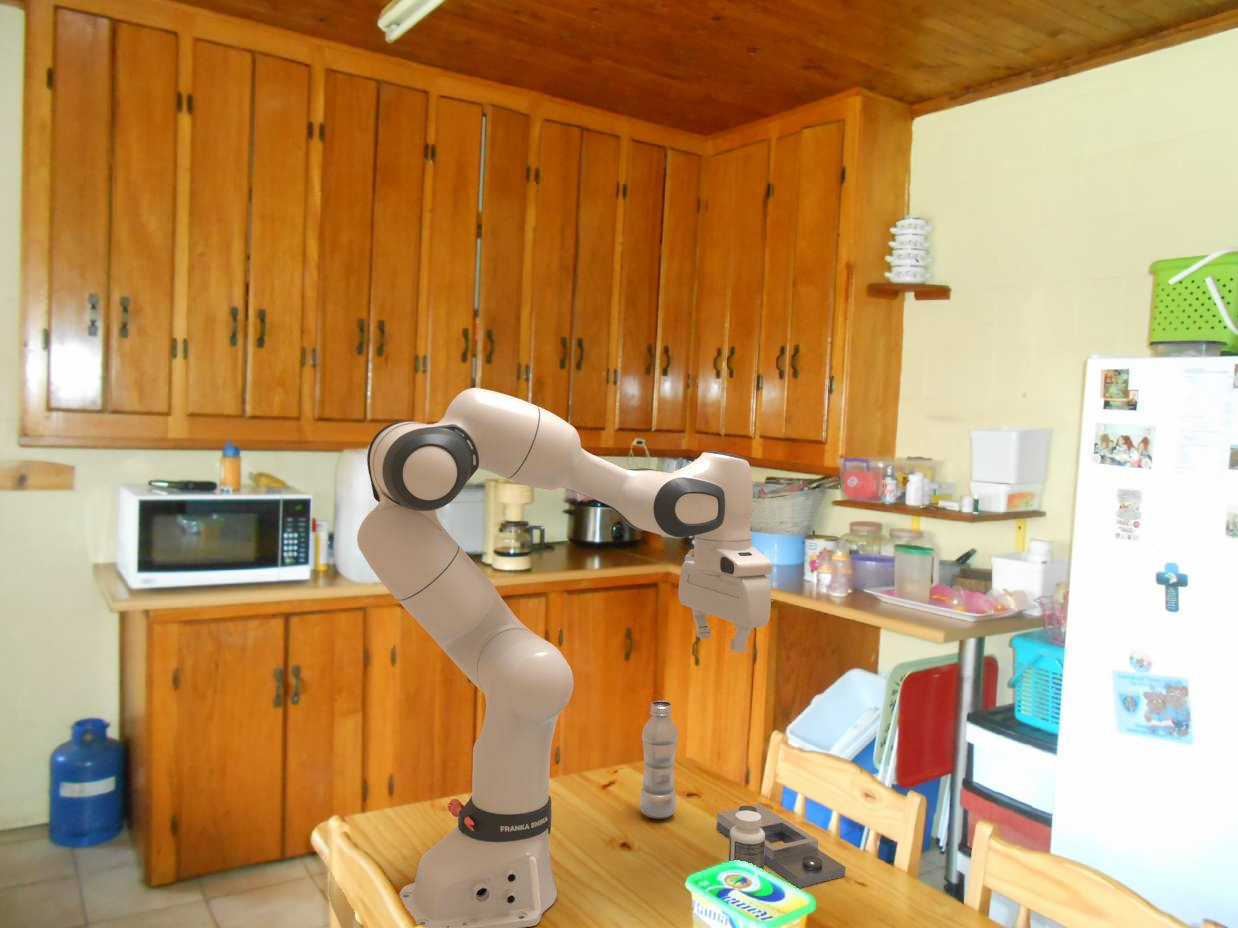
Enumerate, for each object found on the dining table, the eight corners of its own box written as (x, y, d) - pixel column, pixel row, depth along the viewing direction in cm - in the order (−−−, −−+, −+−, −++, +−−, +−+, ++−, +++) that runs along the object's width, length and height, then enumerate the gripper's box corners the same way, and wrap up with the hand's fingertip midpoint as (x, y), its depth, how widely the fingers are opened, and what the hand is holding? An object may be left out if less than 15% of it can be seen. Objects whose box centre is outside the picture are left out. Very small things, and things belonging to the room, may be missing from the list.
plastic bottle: (682, 813, 166) (686, 702, 165) (663, 827, 160) (668, 711, 159) (651, 804, 169) (655, 695, 169) (631, 817, 164) (635, 704, 163)
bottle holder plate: (799, 888, 141) (800, 863, 140) (716, 829, 160) (717, 807, 160) (845, 876, 145) (846, 852, 145) (759, 820, 164) (760, 799, 164)
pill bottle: (770, 881, 143) (773, 818, 142) (744, 889, 140) (746, 825, 139) (747, 866, 147) (749, 805, 147) (720, 874, 144) (723, 812, 144)
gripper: (670, 548, 153) (668, 631, 153) (744, 567, 135) (741, 662, 135) (702, 546, 156) (700, 628, 156) (779, 564, 138) (776, 657, 138)
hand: (720, 644), depth 146 cm, fingers open, 8 cm apart
